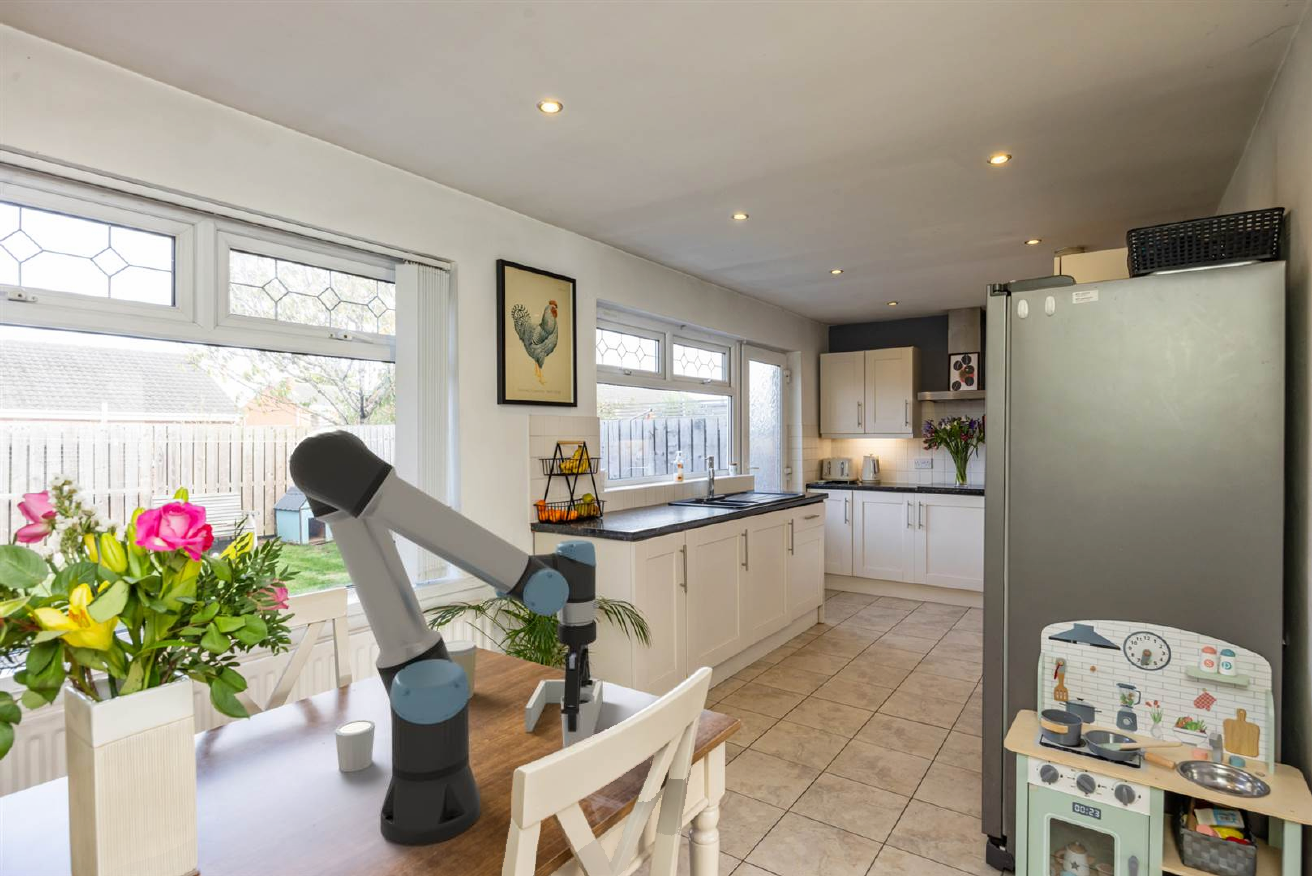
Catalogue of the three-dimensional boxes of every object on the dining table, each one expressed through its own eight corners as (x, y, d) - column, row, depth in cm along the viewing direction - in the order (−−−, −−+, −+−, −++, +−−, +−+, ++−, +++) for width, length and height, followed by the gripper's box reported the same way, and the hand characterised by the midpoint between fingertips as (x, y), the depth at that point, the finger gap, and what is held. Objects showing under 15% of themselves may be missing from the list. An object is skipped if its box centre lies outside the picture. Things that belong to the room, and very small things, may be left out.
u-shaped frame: (525, 732, 138) (525, 707, 138) (541, 701, 155) (541, 679, 155) (594, 732, 138) (593, 707, 138) (602, 701, 155) (602, 679, 155)
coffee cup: (433, 693, 161) (433, 643, 161) (473, 686, 165) (473, 638, 165) (438, 706, 153) (438, 653, 153) (480, 699, 157) (480, 648, 157)
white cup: (598, 743, 133) (598, 692, 133) (591, 758, 126) (591, 705, 126) (565, 741, 134) (565, 691, 134) (557, 757, 127) (556, 704, 127)
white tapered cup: (331, 776, 121) (331, 737, 121) (338, 758, 127) (338, 722, 128) (372, 770, 123) (372, 732, 123) (377, 754, 129) (377, 717, 129)
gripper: (588, 638, 118) (589, 761, 118) (602, 605, 142) (603, 708, 142) (545, 638, 118) (547, 761, 118) (567, 606, 142) (568, 708, 142)
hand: (578, 732), depth 130 cm, fingers open, 12 cm apart
